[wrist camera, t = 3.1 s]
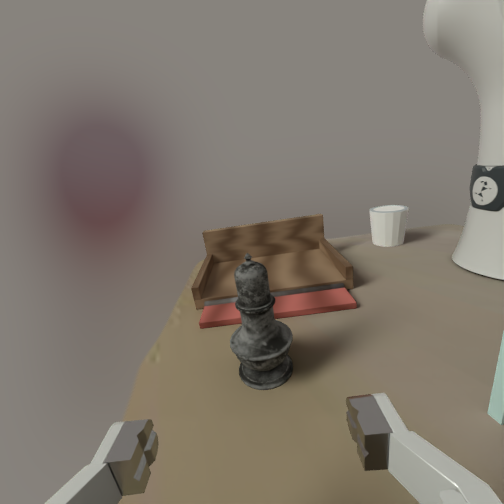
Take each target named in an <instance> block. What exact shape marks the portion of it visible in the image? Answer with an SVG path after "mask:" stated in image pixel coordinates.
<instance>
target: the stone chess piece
mask: <svg viewBox="0 0 504 504" xmlns="http://www.w3.org/2000/svg"><path fill="white" fill-rule="evenodd" d="M251 258H252V256H250V254H249V253H246V255H245V257H244V259H246V261H245V262H244V263H242V264H241V265H239V266H238V267H237V268H236V270H235V272H234V278H235V283H236V289H237V294H238V299H237V301H236V303H235V307H236V309H237V310H239V311H240V315H241V321H242V326H240V327H239V328H238V329H237V330H236V331H235V332H234V333H233V335H232V337H231V339H230V347H231V349H232V351H233V352H234V353H235V354H236V356H237V358H238V359H239V360H240V362H241V364H240V367H239V375H240V377H241V380H242V381H243V382H244V383H245V384H246V385H247V386H249V387H251V388H254V389H258V390H268V389H273V388H276V387H278V386H281V385H282V384H283V383H285V382H286V381H287V380H288V379H289V377H290V376H291V373H292V371H293V364H292V361H291V358H290V357H289V356H288V355H287V354H288V351H289V348H290V345H291V342H292V332H291V330H290V328H289V327H288V326H287V325H285V324H284V323H282V322H280V321H277V320H275V318H274V311H273V305H274V304H275V297H274V296H273V295H272V294H270V288H269V281H268V273H267V269H266V267H265V266H264V265H263V264H261V263H259V262H255V261H252V260H251Z"/></svg>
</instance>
